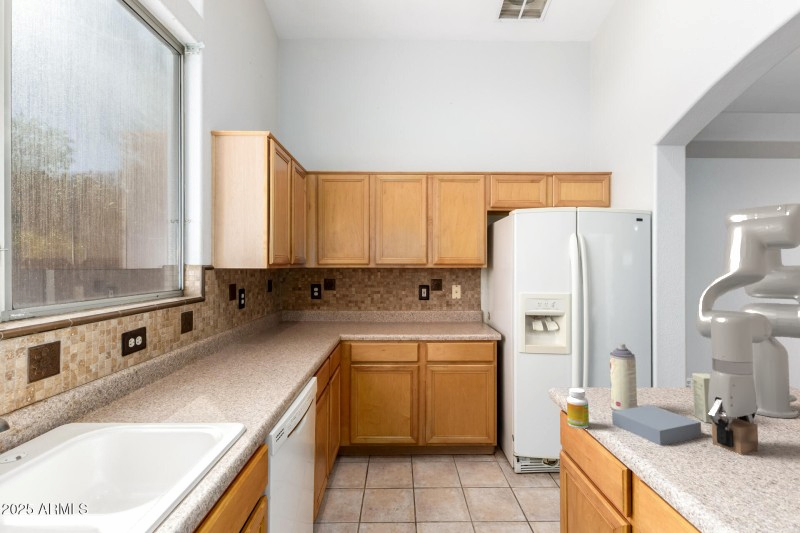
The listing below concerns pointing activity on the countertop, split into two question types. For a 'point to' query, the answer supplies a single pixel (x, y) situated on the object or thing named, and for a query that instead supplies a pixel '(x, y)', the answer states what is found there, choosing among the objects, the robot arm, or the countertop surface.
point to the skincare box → (701, 396)
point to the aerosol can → (623, 379)
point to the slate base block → (656, 424)
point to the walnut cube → (740, 436)
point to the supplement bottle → (577, 409)
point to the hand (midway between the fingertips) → (734, 442)
